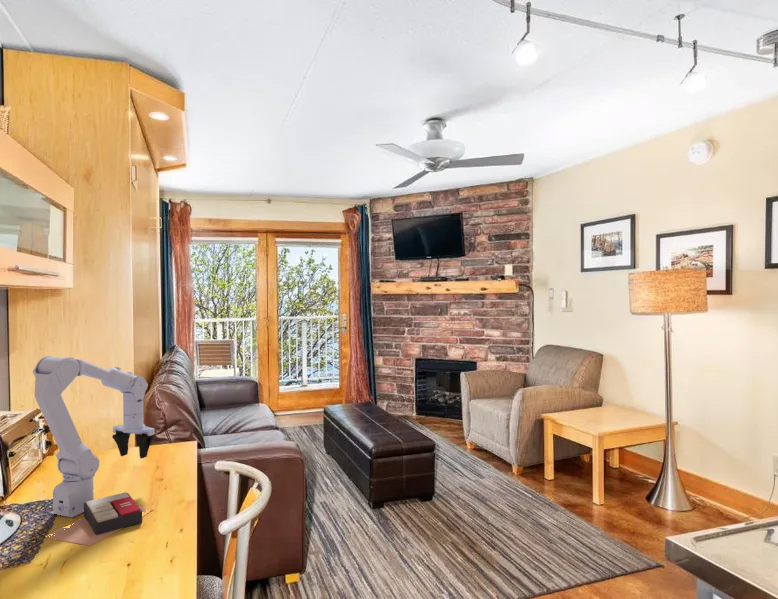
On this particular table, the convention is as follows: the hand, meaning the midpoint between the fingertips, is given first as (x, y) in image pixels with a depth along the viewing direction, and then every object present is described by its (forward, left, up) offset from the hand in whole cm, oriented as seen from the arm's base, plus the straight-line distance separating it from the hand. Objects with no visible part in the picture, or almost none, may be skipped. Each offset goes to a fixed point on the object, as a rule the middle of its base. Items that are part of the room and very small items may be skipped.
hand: (133, 456), depth 158 cm
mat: (-24, -12, -9) cm, 28 cm away
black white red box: (-21, -13, -10) cm, 27 cm away
